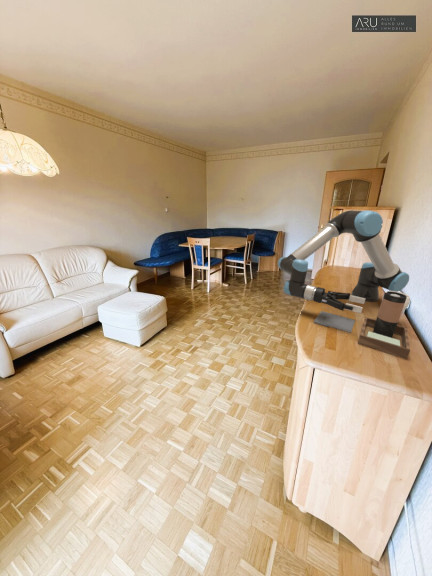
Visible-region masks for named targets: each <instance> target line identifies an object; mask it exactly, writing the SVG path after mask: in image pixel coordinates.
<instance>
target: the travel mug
mask: <svg viewBox="0 0 432 576" xmlns="http://www.w3.org/2000/svg"><path fill="white" fill-rule="evenodd" d="M387 291H388V292H386V291H385V292H386V293H385V292H384V294H383V295H384V297H383V296H382V298H383V300H382V299H381V303H380V306H379V308H378V309H379V310H378V312H377V316H376V319H375V320H376V322H375V326H374V328H373V330H372V332H373V333H376V334H380V335H383V336H387V337H390V338H393V337H394V335H395V334H394V332H395V329H396V327H397V325H398V323H399V322H400V318H401V316H402V313H403V312H402V310H403V307H404V304H405V301H406V298H407V296H405V295H403V294H401V293H402V292H401V293H397V292H390V291H389V290H387Z"/></svg>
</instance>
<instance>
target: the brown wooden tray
mask: <svg viewBox="0 0 432 576" xmlns="http://www.w3.org/2000/svg"><path fill="white" fill-rule="evenodd" d="M362 322H363V323H362V327H361V330H360V334H359V338H358V341H357V344H358V345H360V346H362V347H363V346H364V347H367V348H370V349H373V350H377V351H380V352H383V353H386V354H389V355H392V356H395V357H398V358H401V359H404V360H408V357H409V354H410V352H411V347H410V339H409V333H408V328H407V327H405V326H403V325H398V324H397V327H396V329H395V332H394V334H393V335H397V336H401V344H402V345H400V346H398V345H395V344H391V343H388V342H385V341H381V340H378V339H375V338H371V337H368V336H366V335H365V330H366V327H369V328H372V329H374V326H375V322H376V319H374V318H371V317H367V316H365V317H364V320H363V321H362Z"/></svg>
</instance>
